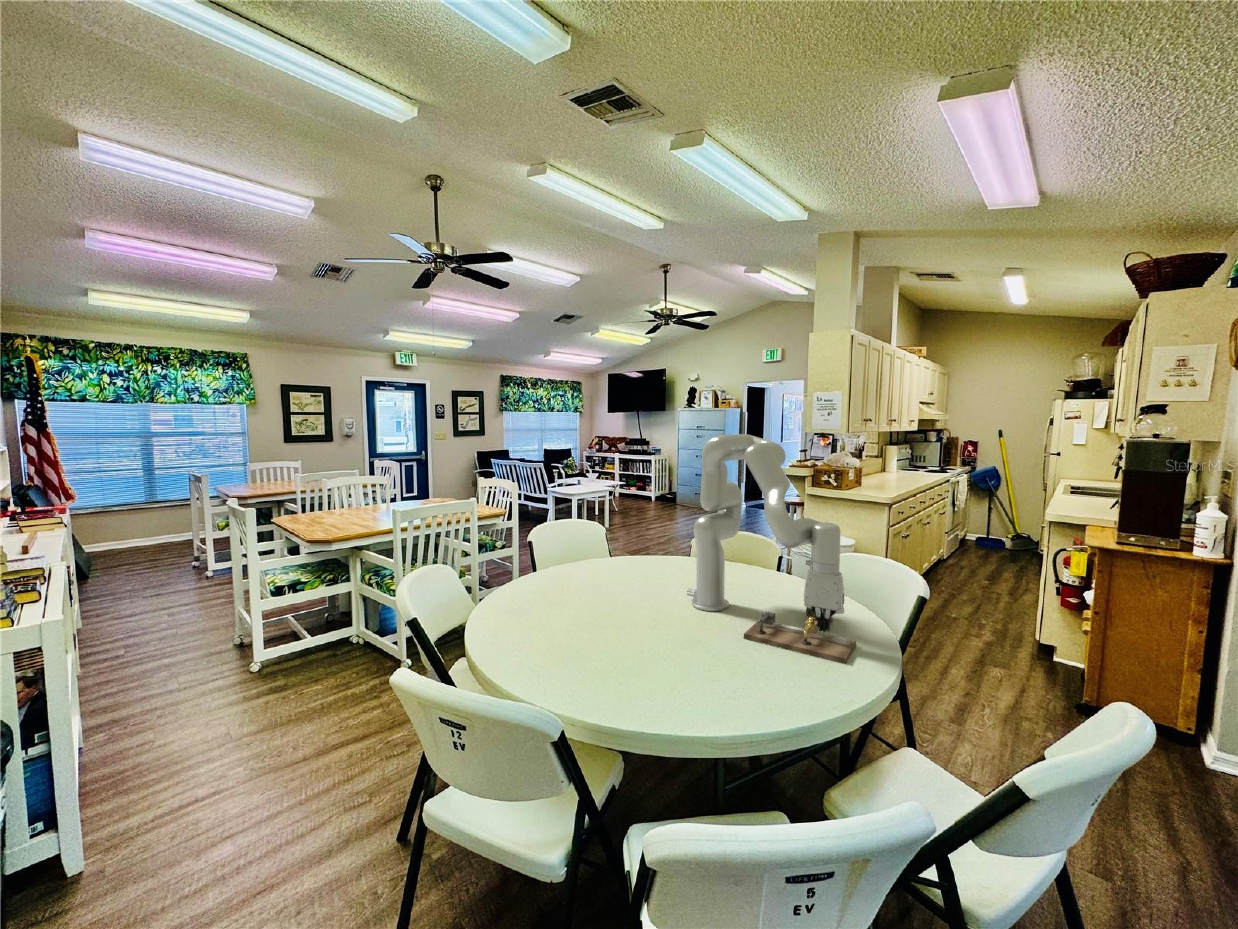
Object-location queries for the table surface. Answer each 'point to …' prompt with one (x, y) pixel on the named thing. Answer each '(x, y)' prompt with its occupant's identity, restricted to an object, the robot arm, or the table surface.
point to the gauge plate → (800, 639)
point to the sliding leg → (810, 627)
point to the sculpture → (812, 614)
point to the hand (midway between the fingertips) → (823, 629)
